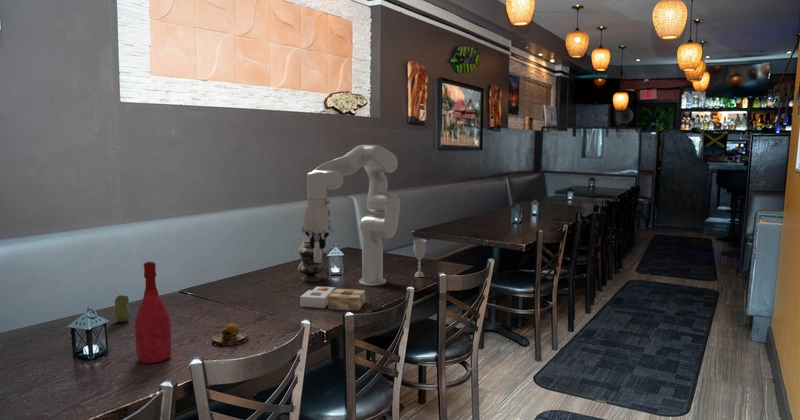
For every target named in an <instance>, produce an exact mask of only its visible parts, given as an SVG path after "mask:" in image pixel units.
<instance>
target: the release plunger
mask: <svg viewBox="0 0 800 420" xmlns="http://www.w3.org/2000/svg"><path fill="white" fill-rule="evenodd" d="M320 287H321V288H319V291H327V288H326V287H327V286H320Z"/></svg>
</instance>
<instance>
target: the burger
mask: <svg viewBox="0 0 800 420" xmlns="http://www.w3.org/2000/svg"><path fill="white" fill-rule="evenodd" d="M248 335H249V333H248V332H247V331H244V330H241V329H240V328H239V326H238V325H237V324H236V321H235V323H228V324H227V325H226V327H225V328H224V330H222V331H219V332H216V333H215V334H213V335H212V336H211V339H210V340H211V341H213V343H214V345H215V344H216V345H219V346H218V347H220V346H221V344H222V346H224V345H231V346H234V345H237V344H239V345H241V344H243V342H244V341H245V340H246V339H247V337H248ZM221 336H222V337H221ZM240 343H241V344H240ZM244 343H245V342H244ZM216 345H215V346H216Z"/></svg>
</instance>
